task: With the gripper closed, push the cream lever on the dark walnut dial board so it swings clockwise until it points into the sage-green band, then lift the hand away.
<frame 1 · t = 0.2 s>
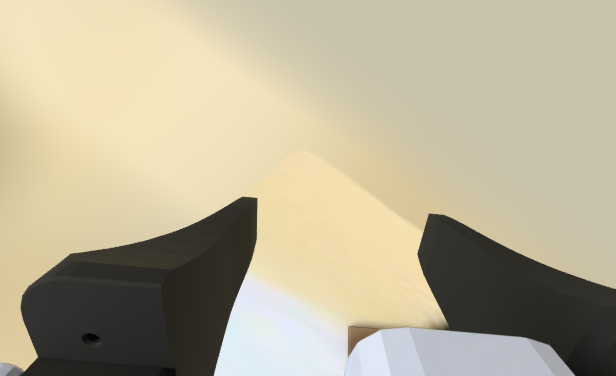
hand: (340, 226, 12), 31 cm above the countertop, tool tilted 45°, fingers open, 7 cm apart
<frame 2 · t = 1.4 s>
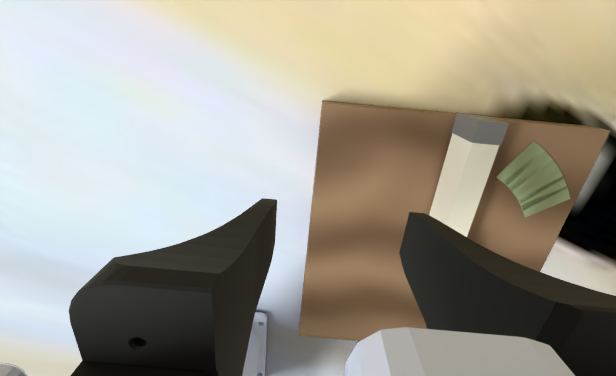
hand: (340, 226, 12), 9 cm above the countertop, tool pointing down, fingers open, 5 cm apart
dial lever: (452, 209, 19), point 3 cm above the countertop, hinge at 0.0°
dial board: (420, 239, 23), on the countertop
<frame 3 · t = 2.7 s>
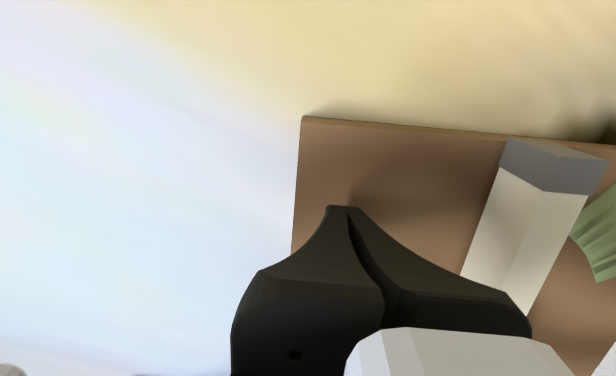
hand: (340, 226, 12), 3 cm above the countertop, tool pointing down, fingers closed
dial lever: (496, 279, 12), point 3 cm above the countertop, hinge at 0.0°
dial board: (441, 302, 17), on the countertop
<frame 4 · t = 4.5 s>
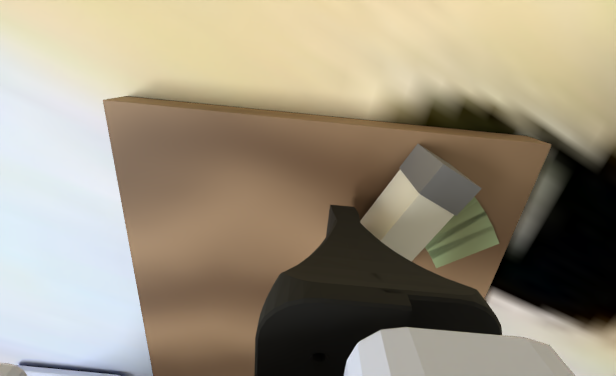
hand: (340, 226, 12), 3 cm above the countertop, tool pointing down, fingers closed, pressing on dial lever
dial lever: (355, 273, 13), point 3 cm above the countertop, hinge at 25.5°, touching gripper
dial board: (306, 289, 17), on the countertop
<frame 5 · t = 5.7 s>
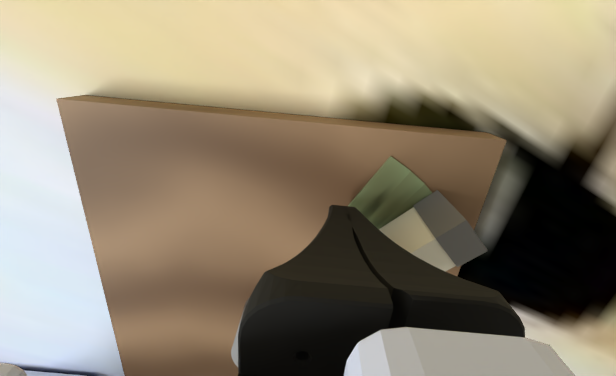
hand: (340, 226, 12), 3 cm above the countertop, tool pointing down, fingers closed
dial lever: (340, 289, 13), point 3 cm above the countertop, hinge at 45.7°, touching gripper
dial board: (276, 288, 17), on the countertop
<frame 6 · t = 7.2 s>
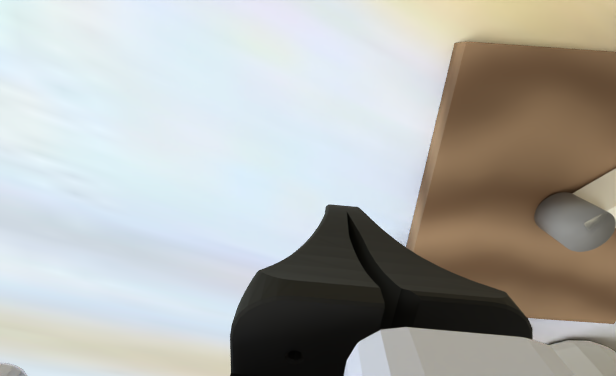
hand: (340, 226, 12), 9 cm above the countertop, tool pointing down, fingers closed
soap bottle: (558, 368, 29), on the countertop
dial board: (539, 201, 22), on the countertop
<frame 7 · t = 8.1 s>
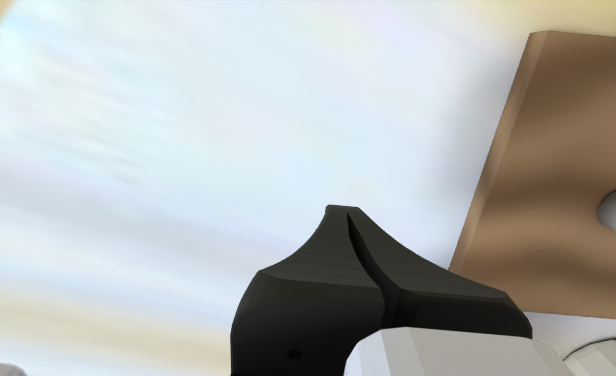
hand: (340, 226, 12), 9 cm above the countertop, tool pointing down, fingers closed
soap bottle: (598, 368, 29), on the countertop
dial board: (597, 197, 21), on the countertop
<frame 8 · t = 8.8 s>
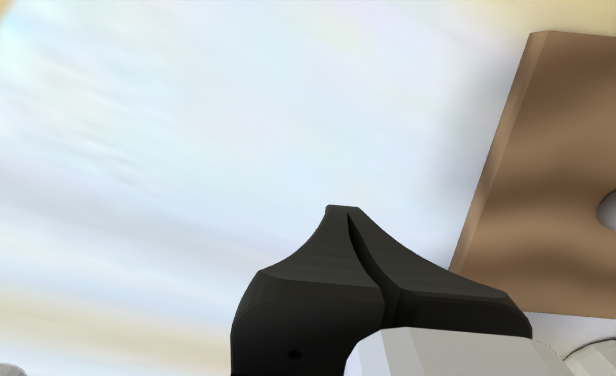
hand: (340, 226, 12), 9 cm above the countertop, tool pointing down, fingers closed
soap bottle: (598, 368, 29), on the countertop
dial board: (597, 197, 21), on the countertop
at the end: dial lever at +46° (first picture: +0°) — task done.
